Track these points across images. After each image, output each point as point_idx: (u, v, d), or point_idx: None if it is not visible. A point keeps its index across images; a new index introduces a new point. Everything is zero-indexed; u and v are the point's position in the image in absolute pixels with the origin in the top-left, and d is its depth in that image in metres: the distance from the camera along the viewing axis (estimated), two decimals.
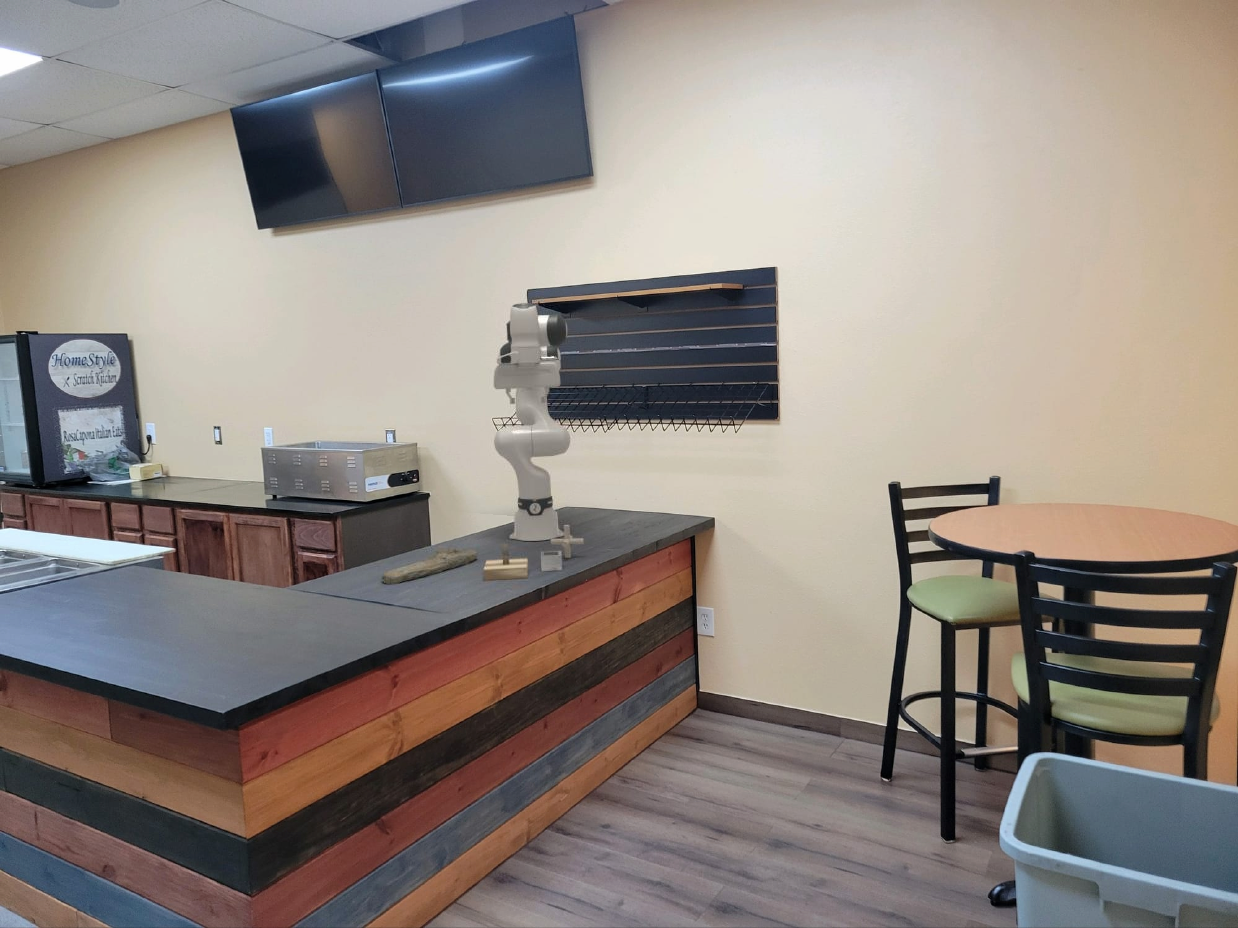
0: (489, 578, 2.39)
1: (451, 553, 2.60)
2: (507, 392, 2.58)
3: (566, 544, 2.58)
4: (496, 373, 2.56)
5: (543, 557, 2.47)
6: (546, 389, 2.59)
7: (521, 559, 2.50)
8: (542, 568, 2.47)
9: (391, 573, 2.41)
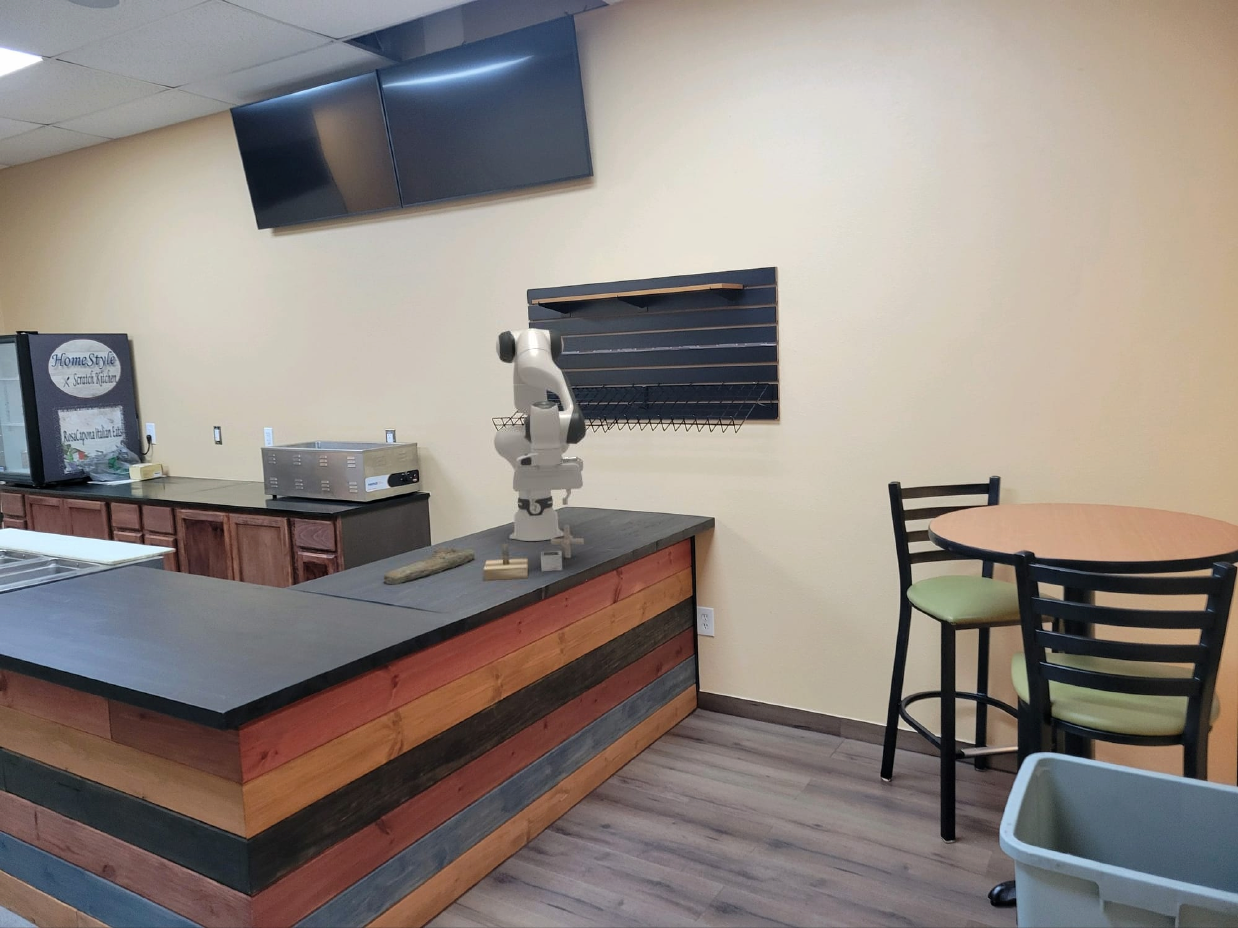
0: (489, 578, 2.39)
1: (449, 553, 2.61)
2: (527, 494, 2.46)
3: (566, 544, 2.58)
4: (515, 475, 2.44)
5: (543, 557, 2.47)
6: (568, 491, 2.47)
7: (521, 559, 2.50)
8: (542, 568, 2.47)
9: (393, 573, 2.40)
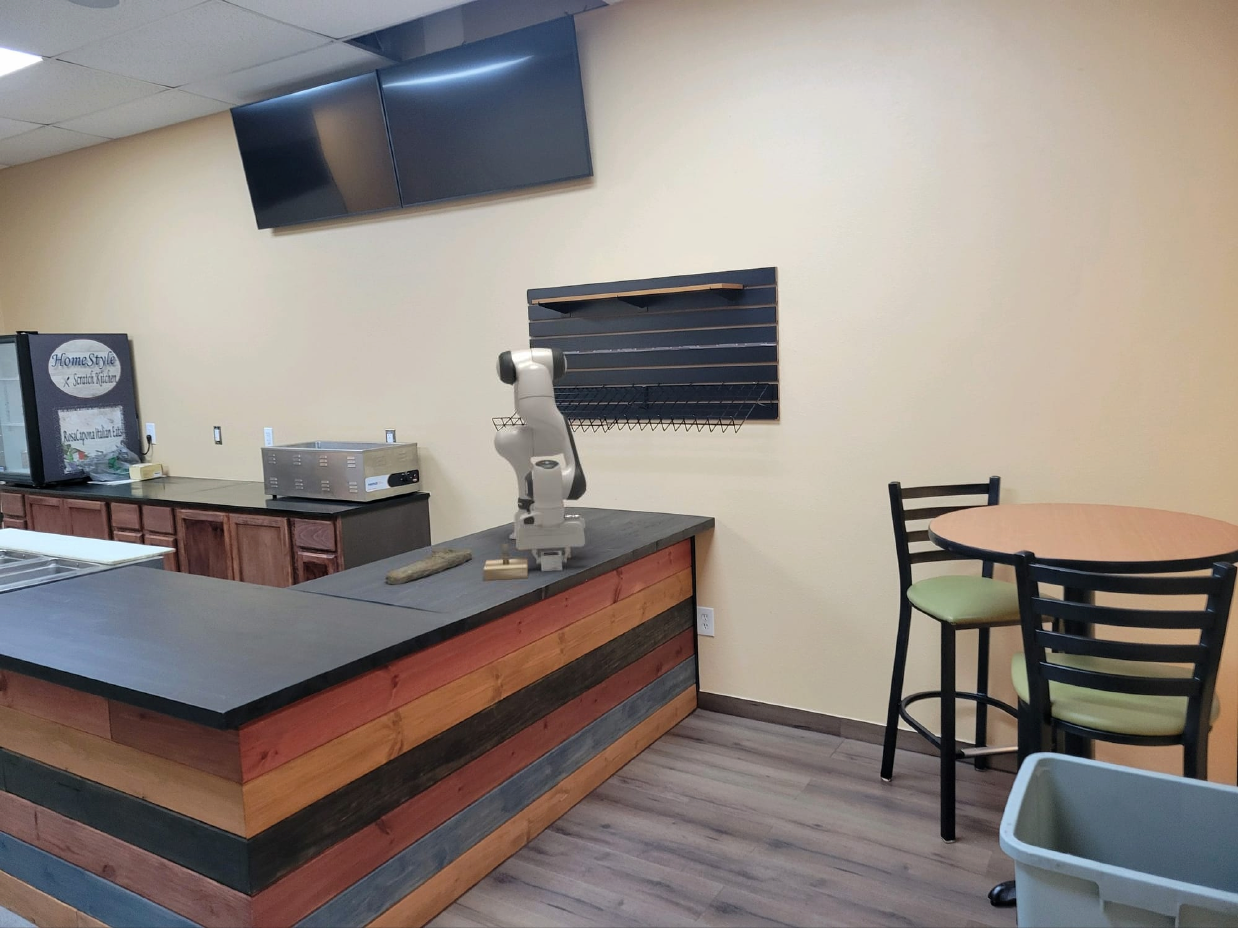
0: (489, 578, 2.39)
1: (447, 552, 2.61)
2: (533, 552, 2.49)
3: None
4: (518, 534, 2.46)
5: (543, 557, 2.47)
6: (567, 549, 2.49)
7: (521, 559, 2.50)
8: (542, 568, 2.47)
9: (395, 573, 2.40)
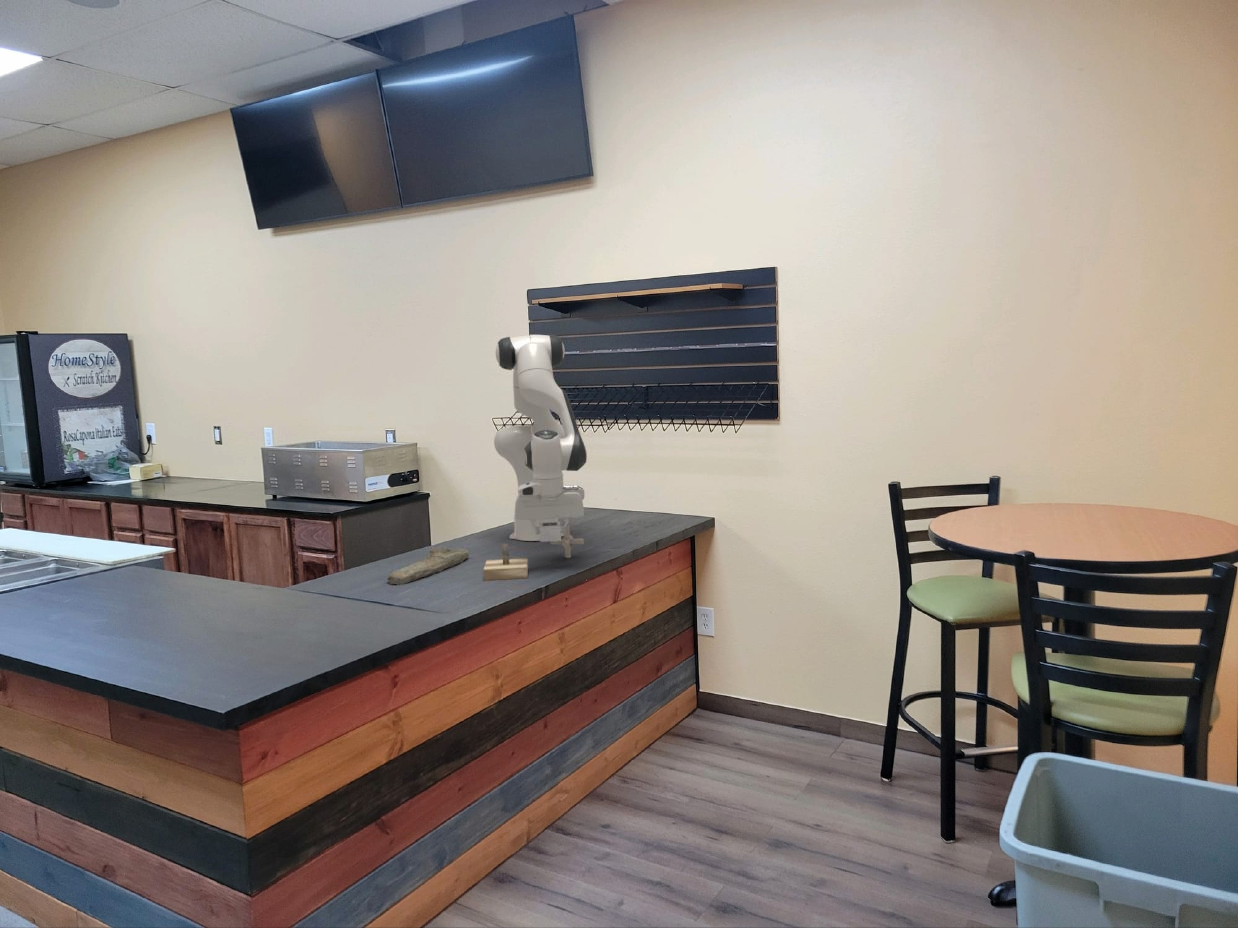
0: (489, 578, 2.39)
1: (445, 552, 2.61)
2: (532, 523, 2.48)
3: (566, 544, 2.58)
4: (517, 504, 2.46)
5: (542, 528, 2.47)
6: (566, 519, 2.49)
7: (521, 559, 2.50)
8: (541, 539, 2.47)
9: (398, 574, 2.40)
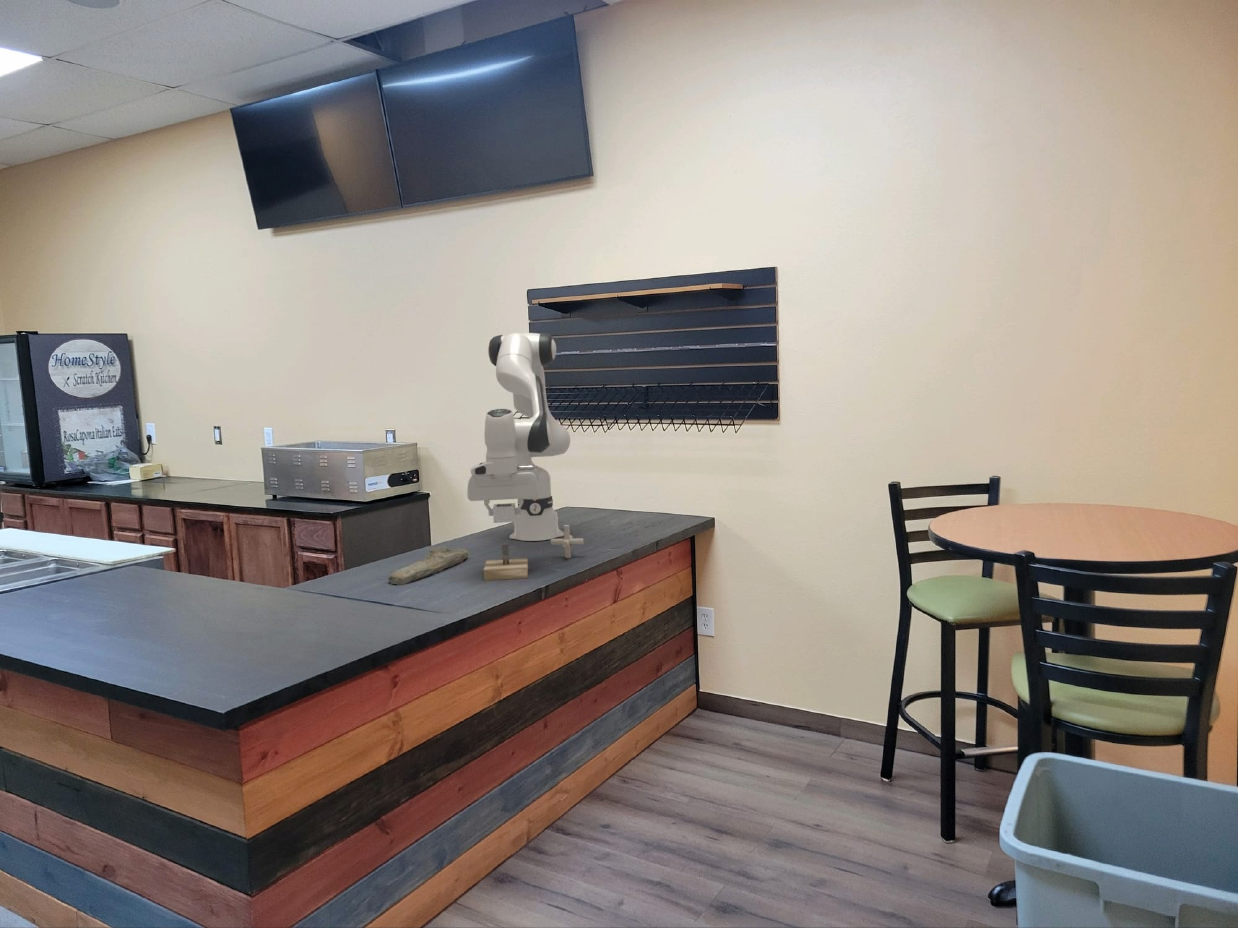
0: (489, 578, 2.39)
1: (445, 552, 2.61)
2: (485, 503, 2.42)
3: (566, 544, 2.58)
4: (469, 484, 2.40)
5: (495, 508, 2.40)
6: (520, 500, 2.43)
7: (521, 559, 2.50)
8: (494, 520, 2.41)
9: (399, 573, 2.40)
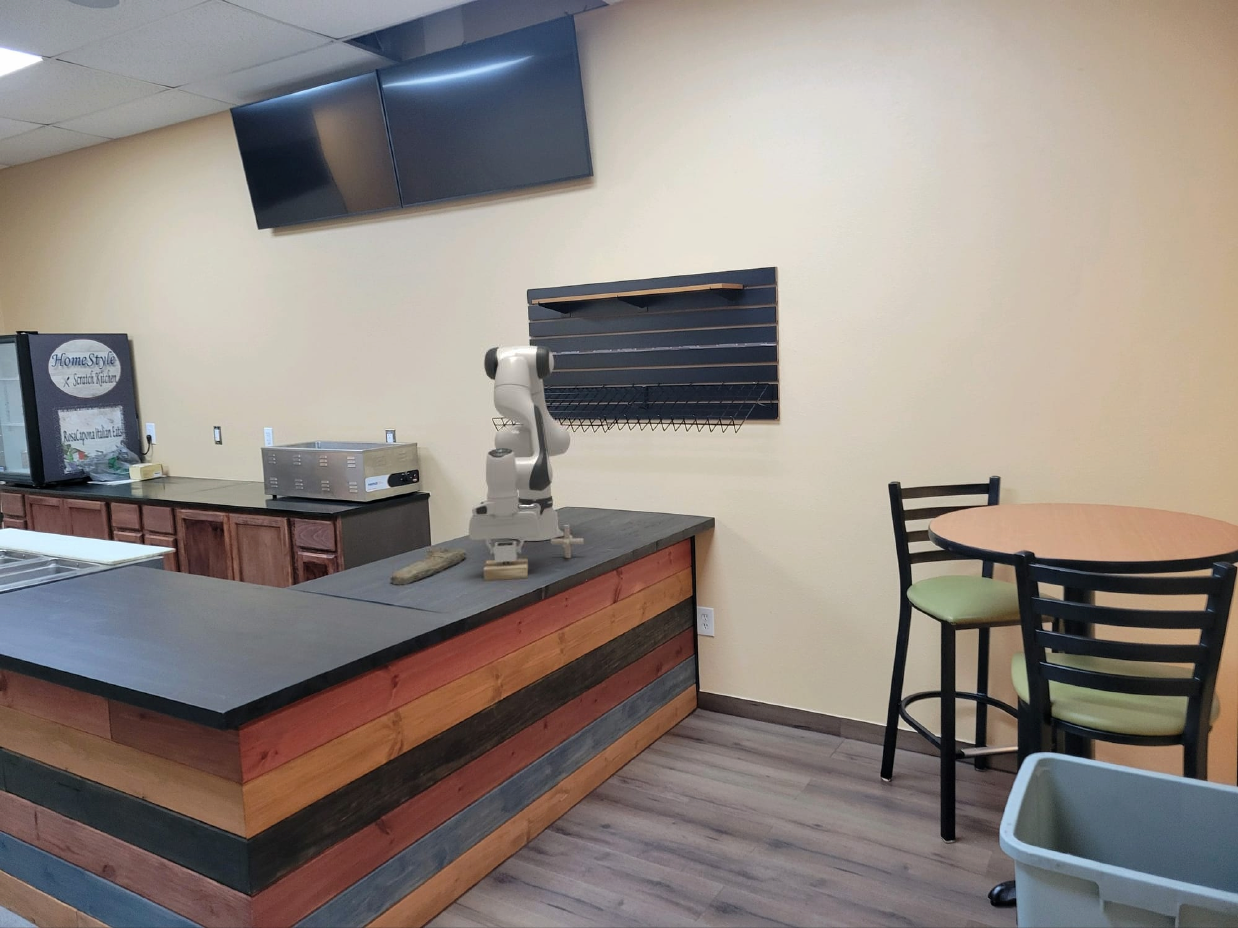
0: (489, 578, 2.39)
1: (444, 552, 2.62)
2: (487, 542, 2.43)
3: (566, 544, 2.58)
4: (471, 524, 2.41)
5: (496, 547, 2.42)
6: (521, 539, 2.44)
7: (521, 559, 2.50)
8: (495, 559, 2.42)
9: (401, 574, 2.40)
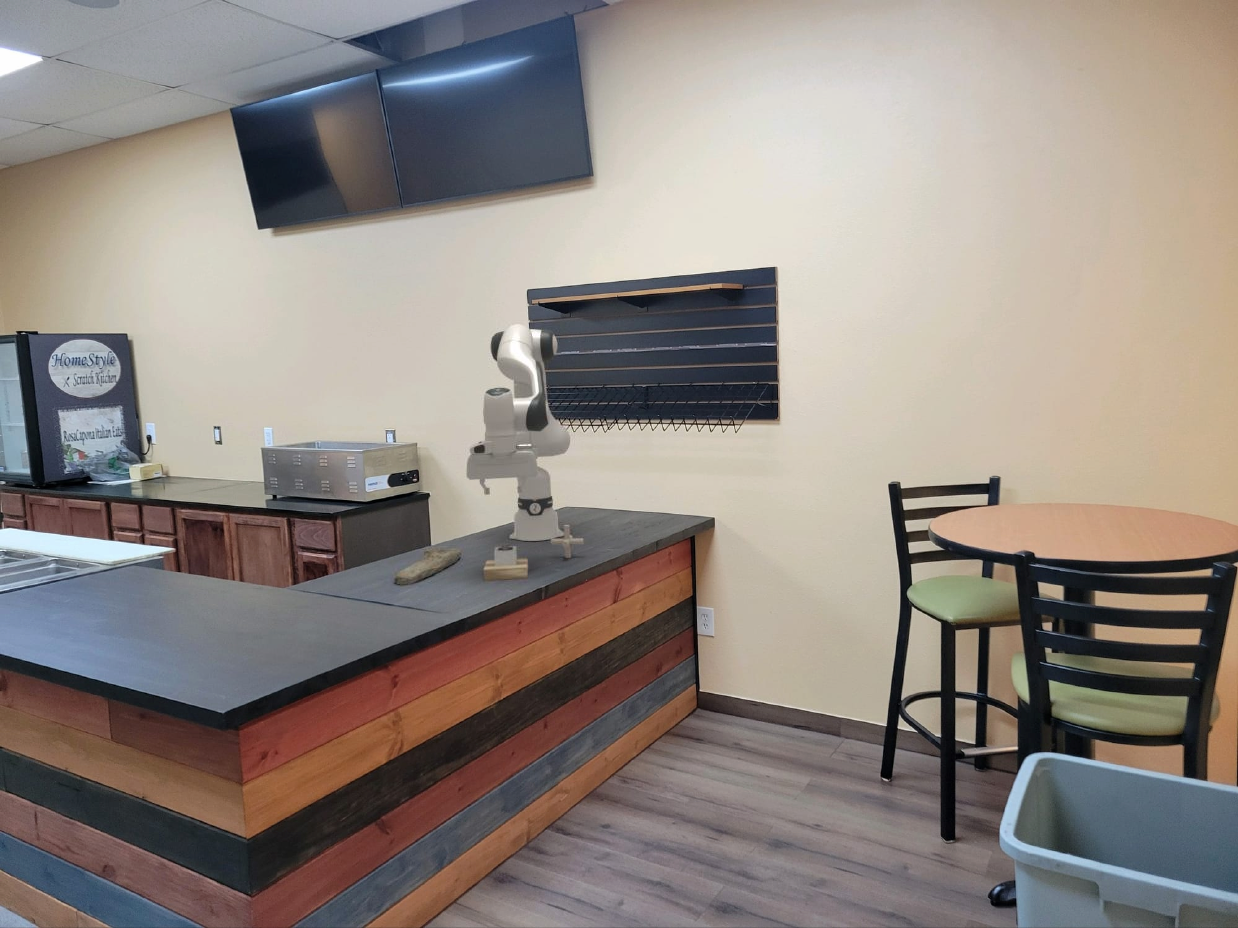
0: (489, 578, 2.39)
1: (440, 552, 2.62)
2: (481, 482, 2.43)
3: (566, 544, 2.58)
4: (469, 463, 2.40)
5: (496, 552, 2.42)
6: (522, 479, 2.43)
7: (521, 559, 2.50)
8: (496, 563, 2.42)
9: (405, 574, 2.39)
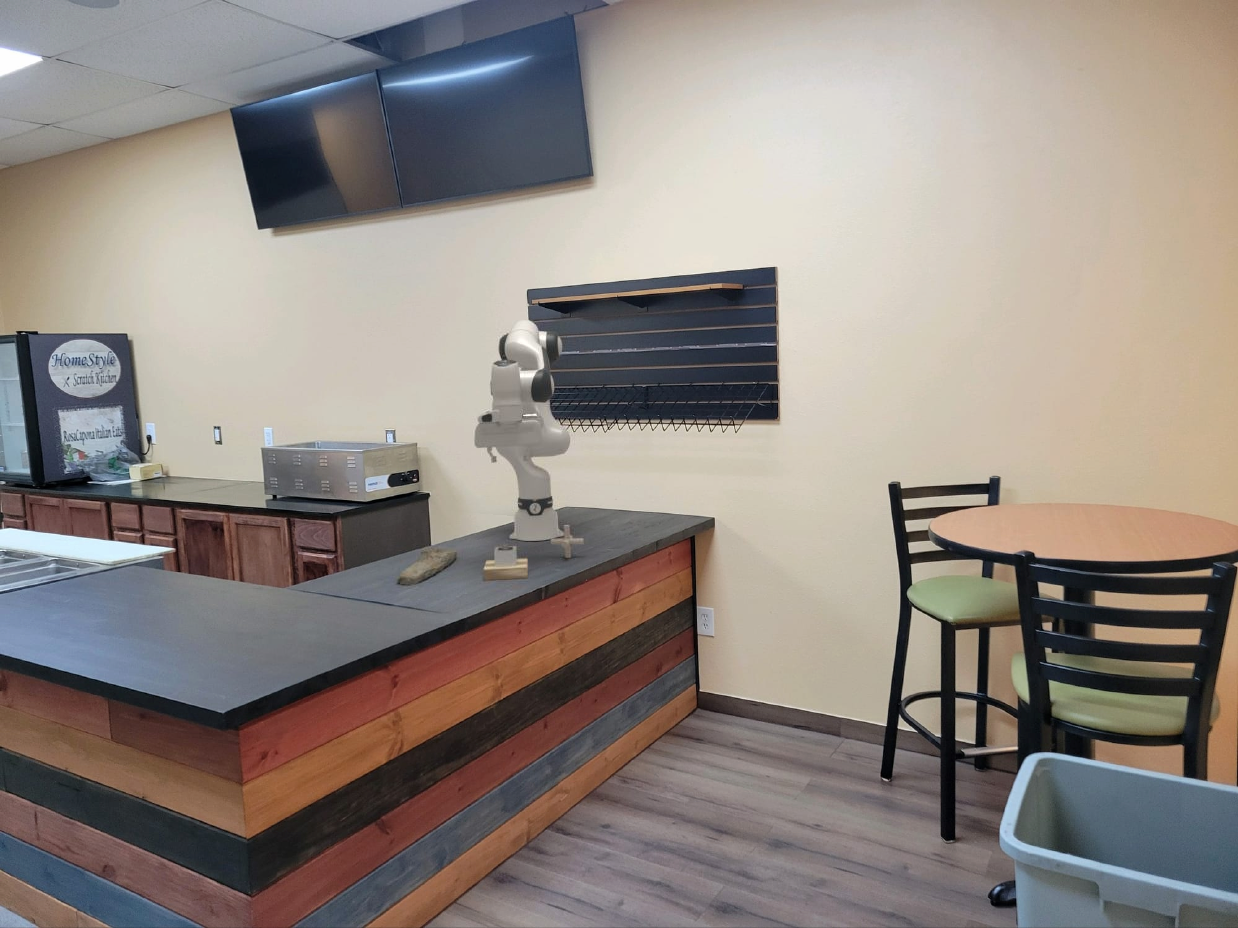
0: (489, 578, 2.39)
1: (437, 552, 2.62)
2: (488, 451, 2.52)
3: (566, 544, 2.58)
4: (476, 432, 2.50)
5: (496, 552, 2.42)
6: (528, 447, 2.53)
7: (521, 559, 2.50)
8: (496, 563, 2.42)
9: (409, 574, 2.39)
